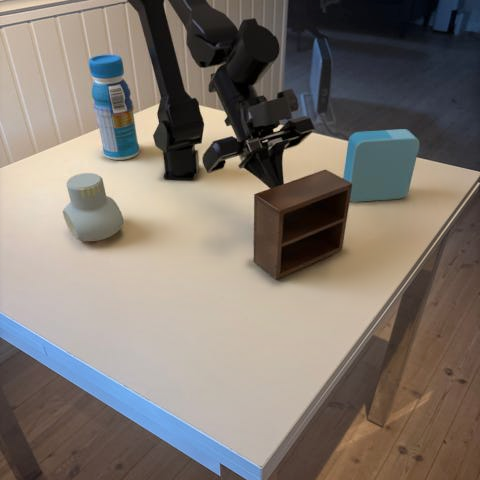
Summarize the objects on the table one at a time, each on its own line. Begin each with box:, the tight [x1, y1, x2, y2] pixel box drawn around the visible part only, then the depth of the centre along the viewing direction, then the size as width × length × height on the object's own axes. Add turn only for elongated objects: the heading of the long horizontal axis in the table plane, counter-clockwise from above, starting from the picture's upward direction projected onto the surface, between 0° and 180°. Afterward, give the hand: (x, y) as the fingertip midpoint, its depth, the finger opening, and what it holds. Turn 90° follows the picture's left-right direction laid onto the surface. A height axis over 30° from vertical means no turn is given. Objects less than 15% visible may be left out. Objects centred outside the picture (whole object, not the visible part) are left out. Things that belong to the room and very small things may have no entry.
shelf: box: [252, 169, 352, 280], centre depth 76 cm, size 6×14×12 cm, turn 125°
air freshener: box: [62, 172, 125, 242], centre depth 84 cm, size 11×8×10 cm
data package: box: [342, 128, 420, 203], centre depth 92 cm, size 12×4×12 cm, turn 97°
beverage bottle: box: [88, 54, 140, 161], centre depth 106 cm, size 8×8×20 cm
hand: (281, 193), depth 77 cm, fingers closed
